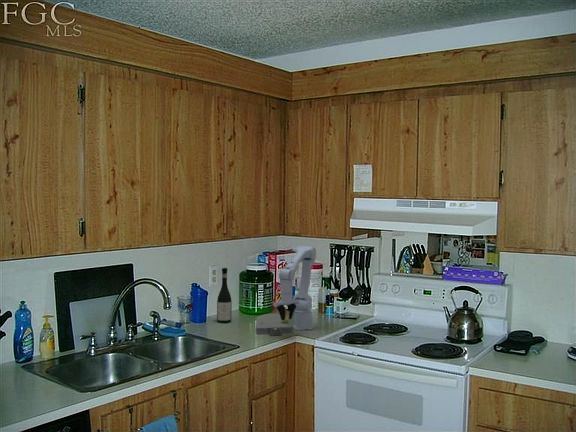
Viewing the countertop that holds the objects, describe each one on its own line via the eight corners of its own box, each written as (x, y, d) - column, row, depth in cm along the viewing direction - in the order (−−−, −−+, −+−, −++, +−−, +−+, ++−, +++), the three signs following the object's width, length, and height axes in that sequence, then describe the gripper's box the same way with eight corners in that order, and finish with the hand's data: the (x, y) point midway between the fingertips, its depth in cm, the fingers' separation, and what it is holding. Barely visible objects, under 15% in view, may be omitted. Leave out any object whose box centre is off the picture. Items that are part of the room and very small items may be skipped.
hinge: (256, 333, 287) (255, 313, 290) (255, 333, 291) (254, 314, 294) (288, 331, 290) (287, 312, 293) (286, 332, 295) (285, 313, 298)
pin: (286, 322, 283) (287, 309, 283) (291, 323, 280) (291, 311, 280) (279, 322, 281) (280, 310, 280) (284, 324, 277) (285, 311, 277)
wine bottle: (231, 323, 307) (231, 269, 305) (216, 323, 306) (217, 269, 305) (231, 319, 315) (231, 267, 313) (217, 319, 314) (217, 267, 313)
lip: (292, 332, 289) (292, 326, 289) (294, 335, 283) (294, 328, 283) (256, 333, 286) (256, 327, 285) (257, 336, 280) (257, 329, 280)
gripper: (293, 289, 287) (293, 315, 288) (270, 292, 279) (269, 319, 280) (301, 292, 281) (301, 318, 282) (278, 295, 273) (277, 322, 274)
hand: (286, 319), depth 280 cm, fingers closed on pin, 4 cm apart
